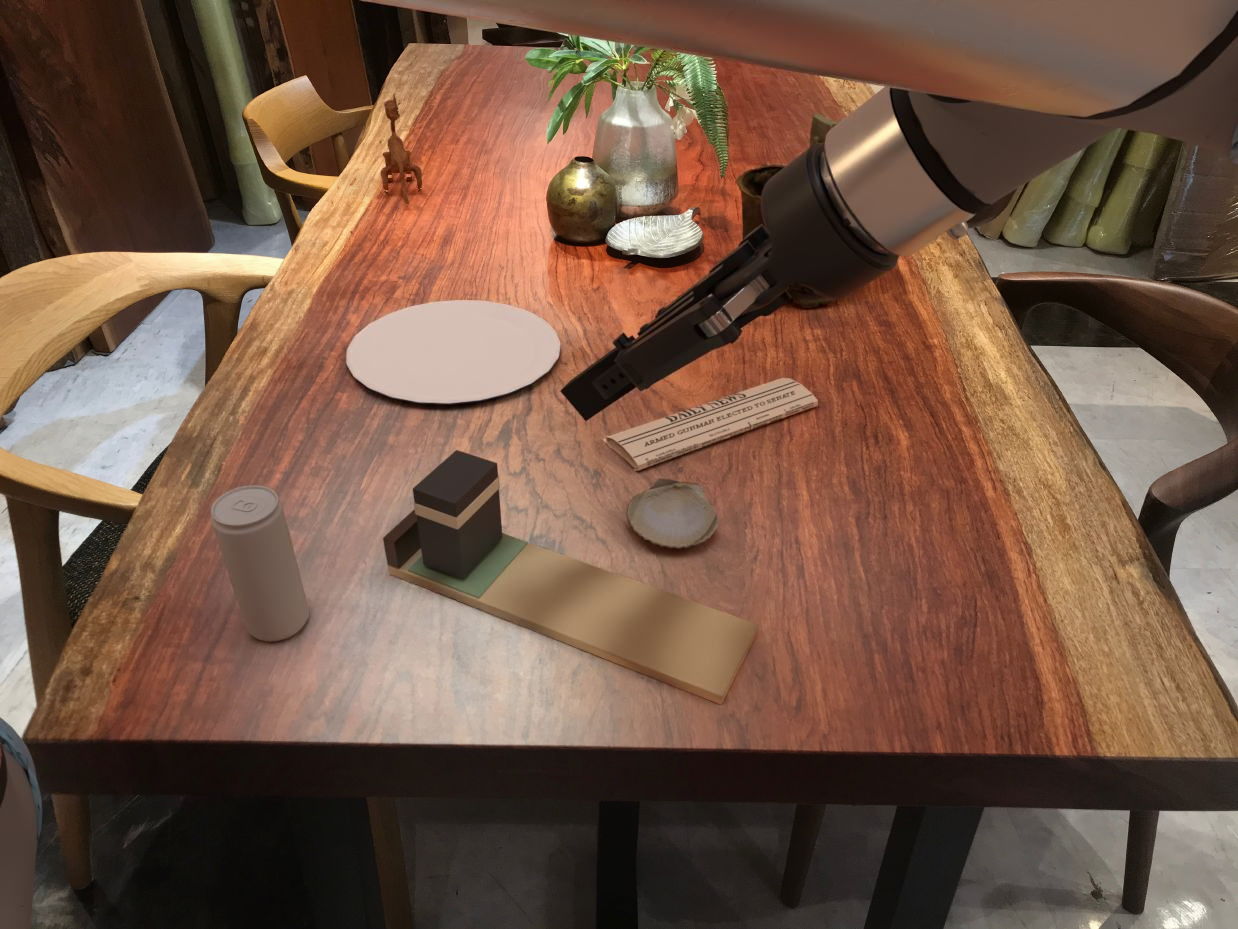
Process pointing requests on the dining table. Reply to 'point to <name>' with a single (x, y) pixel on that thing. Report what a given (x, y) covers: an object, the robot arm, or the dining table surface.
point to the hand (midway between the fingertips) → (578, 400)
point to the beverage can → (260, 561)
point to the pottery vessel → (752, 218)
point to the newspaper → (710, 422)
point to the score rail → (590, 610)
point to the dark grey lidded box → (458, 513)
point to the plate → (453, 352)
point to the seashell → (673, 514)
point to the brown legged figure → (398, 155)
